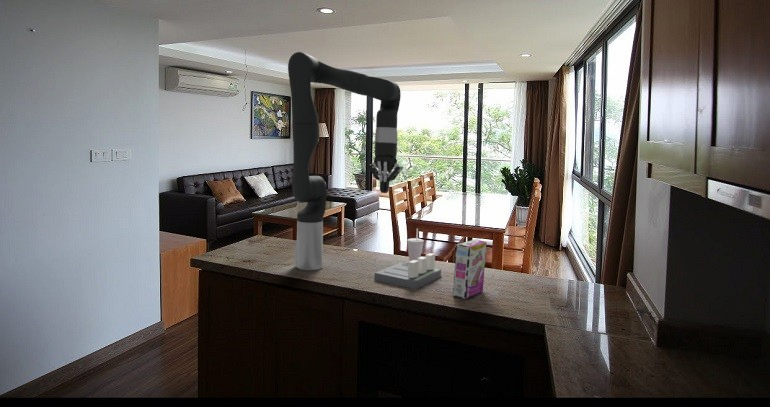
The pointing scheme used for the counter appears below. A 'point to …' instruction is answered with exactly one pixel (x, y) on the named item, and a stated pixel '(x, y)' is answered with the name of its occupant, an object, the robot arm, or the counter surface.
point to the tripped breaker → (413, 268)
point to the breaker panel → (400, 273)
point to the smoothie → (414, 247)
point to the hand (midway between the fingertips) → (384, 192)
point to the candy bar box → (469, 268)
